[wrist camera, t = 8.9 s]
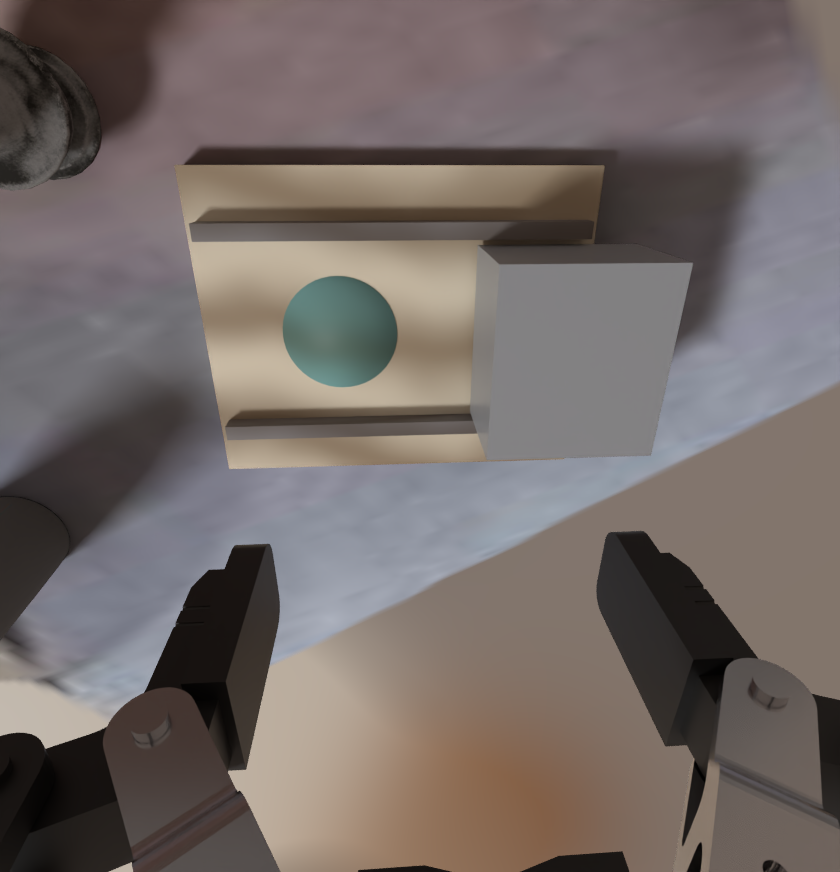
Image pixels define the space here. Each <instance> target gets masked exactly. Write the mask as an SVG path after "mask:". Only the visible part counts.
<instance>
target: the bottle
mask: <svg viewBox="0 0 840 872" xmlns="http://www.w3.org/2000/svg"><path fill="white" fill-rule="evenodd" d="M69 546H70V541H69V535H68V532H67V530H66V528H65V526H64V524H63V523H62V522H61V520H60V519H59V518H58V517H57V516H56V515H55V514H54V513H53V512H51V511H50V510H48V509H47V508H45V507H44V506H42V505H40V504H38V503H36V502H33V501H30V500H27V499H23V498H17V497H0V640H1V639H2V638H3V636H4V635H5V634H6V633H7V631H8V630H9V629H10V627H11V626H12V625H13V624H14V622H15V621H16V620H17V619H18V617H19V616H20V615H21V614H22V612H23V611H24V610H25V609H26V607H27V606H28V605H29V604H30V602H31V601H32V600H33V599H34V597H35V596H36V595H37V593H38V592H39V591H40V590H41V588H42V587H43V586H44V585H45V583H46V582H47V581H48V579H49V578H50V577H51V576H52V574H53V573H54V572H55V570H56V569H57V568H58V566H59V565H60V564H61V562H62V561H63V560H64V558H65V556H66V555H67V553H68V550H69Z"/></svg>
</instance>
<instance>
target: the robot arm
mask: <svg viewBox="0 0 840 872" xmlns="http://www.w3.org/2000/svg"><path fill="white" fill-rule="evenodd" d="M597 600H598V605H599V609H600V611H601V614H602V616H603V618H604V620H605V622H606V624H607V626H608V628H609V630H610V632H611V635H612V637H613V639H614V641H615V643H616V645H617V647H618V649H619V651H620V653H621V655H622V657H623V659H624V662H625V664H626V666H627V668H628V670H629V672H630V674H631V676H632V678H633V680H634V682H635V684H636V686H637V688H638V690H639V693H640V694H641V697H642V699H643V701H644V703H645V705H646V707H647V709H648V711H649V713H650V715H651V717H652V720H653V722H654V724H655V726H656V728H657V730H658V732H659V734H660V736H661V738H662V740H663V742H664V744H665V746H679V745H687V746H688V748H689V750H690V752H691V753H692V755H693V760H692V763H691V766H690V770H689V776H688V782H687V789H686V795H685V801H684V808H683V814H682V820H681V826H680V833H679V839H678V845H677V851H676V857H675V862H674V866H673V871H672V872H840V700H836V699H832V698H827V697H822V696H818V695H815V694H811V692H810V691H809V689H808V688H807V687H806V686H805V685H804V684H803V683H802V682H801V681H800V680H799V679H798V678H797V677H795V676H794V675H793V674H792V673H790V672H788V671H787V670H785V669H784V668H781V667H780V666H778V665H776V664H773V663H771V662H768V661H765V660H761V659H758V658H757V656H756V655H755V654H754V652H753V651H752V650H751V648H750V647H749V646H748V644H747V643H746V642H745V640H744V639H743V638H742V636H741V635H740V634H739V633H738V631H737V630H736V628H735V627H734V626H733V624H732V623H731V622H730V620H729V619H728V618H727V616H726V615H725V614H724V612H723V611H722V610H721V608H720V607H719V606H718V604H715V603H714V599H713V598H712V596H711V595H710V594H709V592H708V591H707V590H706V589H704V588H703V585H702V583H701V582H700V580H699V579H698V578H697V577H696V575H695V574H694V573H693V572H692V570H691V569H690V568H689V567H688V566H687V565H685V564H684V563H682V562H681V561H680V560H679V559H677V558H676V557H674V556H673V555H672V554H670V553H660V552H659V550H658V549H657V547H656V546H655V545H654V543H653V542H652V540H651V539H650V537H649V536H648V535H647V534H646V533H645V532H643V531H631V532H611V533H608V535H607V537H606V539H605V544H604V550H603V554H602V560H601V565H600V570H599V575H598V580H597ZM279 613H280V601H279V592H278V585H277V579H276V572H275V566H274V559H273V553H272V548H271V546H270V544H254V545H235V546H234V547H233V549H232V551H231V554H230V556H229V559H228V561H227V564H226V567H225V569H220V570H208V571H207V572H206V573H205V574H204V575H203V576H202V577H201V578H200V579H199V580H198V581H197V582H196V583H195V584H194V585H193V586H192V587H191V589H190V592H189V594H188V596H187V598H186V601H185V603H184V605H183V611H181V612H180V614H179V616H178V619H177V621H176V626H175V627H174V628H173V630H172V632H171V634H170V637H169V639H168V641H167V643H166V646H165V648H164V650H163V652H162V655H161V657H160V659H159V661H158V664H157V666H156V668H155V670H154V673H153V675H152V677H151V679H150V682H149V684H148V686H147V688H146V690H145V692H144V693H143V694H141V695H139V696H137V697H135V698H134V699H132V700H131V701H129V702H128V703H126V704H125V705H124V706H123V707H122V708H121V709H120V710H119V711H118V712H117V713H116V714H115V715H114V716H113V718H112V719H111V721H110V722H109V724H108V726H107V727H106V728H104V729H102V730H100V731H97V732H95V733H92V734H89V735H86V736H83V737H80V738H77V739H74V740H72V741H68V742H65V743H62V744H59V745H56V746H53V747H50V748H47V749H45V748H44V745H43V744H42V742H41V740H40V739H38V738H37V737H36V736H34V735H32V734H27V733H12V734H7V735H3V736H0V872H109V871H111V870H113V869H116V868H118V867H120V866H123V865H126V864H128V863H130V862H132V867H133V872H280V870H279V868H278V866H277V864H276V861H275V860H274V857H273V855H272V853H271V851H270V849H269V847H268V845H267V843H266V840H265V838H264V836H263V834H262V832H261V830H260V828H259V826H258V824H257V821H256V819H255V817H254V815H253V813H252V811H251V809H250V807H249V805H248V803H247V801H246V799H245V797H244V796H243V794H242V793H241V792H240V791H238V792H237V790H236V789H235V787H234V785H233V782H232V780H231V778H230V776H229V774H228V771H229V770H246V767H247V763H248V759H249V754H250V749H251V745H252V740H253V736H254V731H255V727H256V723H257V718H258V714H259V709H260V705H261V700H262V696H263V691H264V687H265V682H266V678H267V673H268V669H269V664H270V660H271V655H272V651H273V647H274V642H275V638H276V633H277V629H278V623H279ZM358 872H450V871H446V870H442V869H437V868H433V867H429V866H411V867H396V868H383V869H368V870H358ZM522 872H629V869H628V866H627V864H626V861H625V858H624V855H623V852H609V853H595V854H580V855H566V856H558V857H555V858H553V859H550V860H548V861H546V862H543V863H541V864H538V865H536V866H533V867H531V868H529V869H526V870H524V871H522Z"/></svg>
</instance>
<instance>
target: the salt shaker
mask: <svg viewBox="0 0 840 872" xmlns="http://www.w3.org/2000/svg"><path fill="white" fill-rule="evenodd" d="M100 138H101V129H100V117H99V114H98V111H97V108H96V105H95V102H94V99H93V97H92V96H91V94H90V92H89V90H88V88H87V87H86V85H85V83H84V82H83V81H82V80H81V78H80V77H79V76H78V75H77V74H76V73H75V71H74V70H73V69H72V68H71V67H70V66H68V65H67V64H66V63H65V62H63V61H62V60H61V59H60V58H58V57H57V56H55V55H53V54H51V53H49V52H47V51H45V50H43V49H41V48H39V47H34V46H29V45H25V44H24V43H23V42H21V41H20V40H19V39H18V38H16V37H15V36H14V35H12V34H11V33H10V32H8V31H6V30H4V29H1V28H0V189H5V190H21V189H30V188H33V187H35V186H37V185H40V184H42V183H44V182H46V181H48V180H49V179H51V180H57V179H66V178H71V177H73V176H75V175H77V174H79V173H82V172H83V171H84V170H85V169H86V168H87V167H88V166H89V165H90V164H91V163H92V161H93V159H94V157H95V156H96V154H97V152H98V149H99V143H100Z"/></svg>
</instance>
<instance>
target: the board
mask: <svg viewBox="0 0 840 872" xmlns="http://www.w3.org/2000/svg"><path fill="white" fill-rule="evenodd" d="M174 166H175V171H176V177H177V182H178V188H179V193H180V199H181V204H182V210H183V215H184V221H185V227H186V232H187V238H188V243H189V249H190V254H191V260H192V265H193V271H194V276H195V282H196V287H197V293H198V298H199V304H200V309H201V315H202V320H203V326H204V332H205V337H206V343H207V348H208V354H209V359H210V365H211V370H212V376H213V381H214V387H215V392H216V398H217V403H218V409H219V414H220V420H221V425H222V431H223V436H224V442H225V448H226V453H227V459H228V464H229V469H245V468H279V467H313V466H347V465H381V464H415V463H449V462H483V461H517V460H551V459H564V458H549V459H515V460H486V457H485V454H484V451H483V448H482V445H481V442H480V439H479V437H478V434H477V431H476V428H475V425H474V422H473V419H472V416H471V413H470V399H471V378H472V357H473V335H474V314H475V293H476V272H477V250H478V245H529V244H594V240H595V233H596V225H597V218H598V211H599V204H600V197H601V189H602V182H603V175H604V168H605V165H174Z"/></svg>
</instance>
